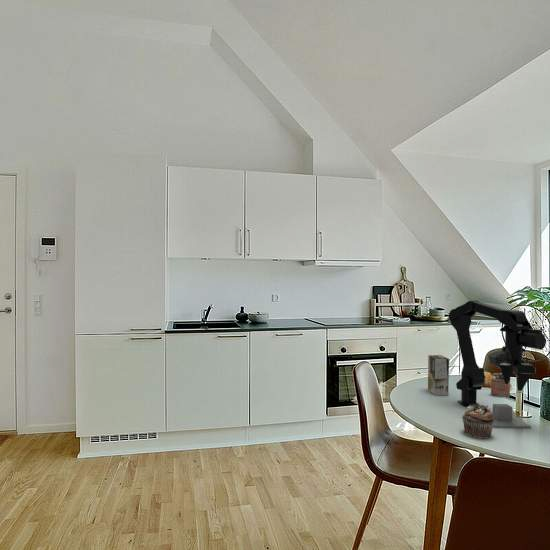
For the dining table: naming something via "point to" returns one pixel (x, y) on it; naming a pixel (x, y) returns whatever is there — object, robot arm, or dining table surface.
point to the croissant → (489, 379)
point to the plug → (503, 412)
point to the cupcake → (478, 420)
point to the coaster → (510, 423)
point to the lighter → (499, 386)
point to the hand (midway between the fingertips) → (512, 387)
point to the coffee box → (438, 374)
